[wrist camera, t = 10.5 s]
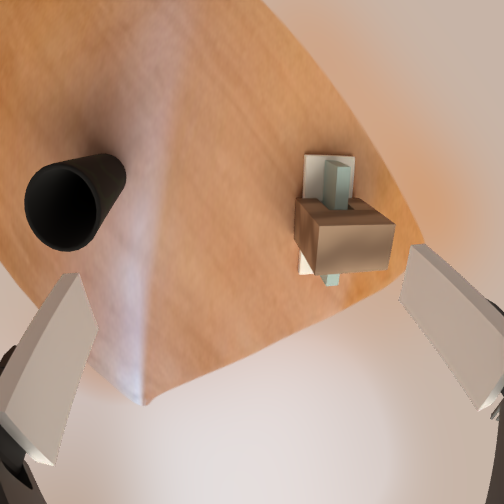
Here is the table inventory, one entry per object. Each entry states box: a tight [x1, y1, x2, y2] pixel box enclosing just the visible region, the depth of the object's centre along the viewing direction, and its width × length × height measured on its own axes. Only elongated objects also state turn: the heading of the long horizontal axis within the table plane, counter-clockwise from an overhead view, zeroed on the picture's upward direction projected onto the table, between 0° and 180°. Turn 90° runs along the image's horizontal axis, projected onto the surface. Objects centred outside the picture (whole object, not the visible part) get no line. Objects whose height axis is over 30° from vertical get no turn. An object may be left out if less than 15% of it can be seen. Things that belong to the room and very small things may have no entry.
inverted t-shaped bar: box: [298, 154, 355, 286], centre depth 36 cm, size 15×6×5 cm, turn 0°
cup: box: [24, 154, 126, 252], centre depth 28 cm, size 8×8×12 cm
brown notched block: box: [294, 198, 396, 275], centre depth 34 cm, size 5×8×9 cm, turn 90°
